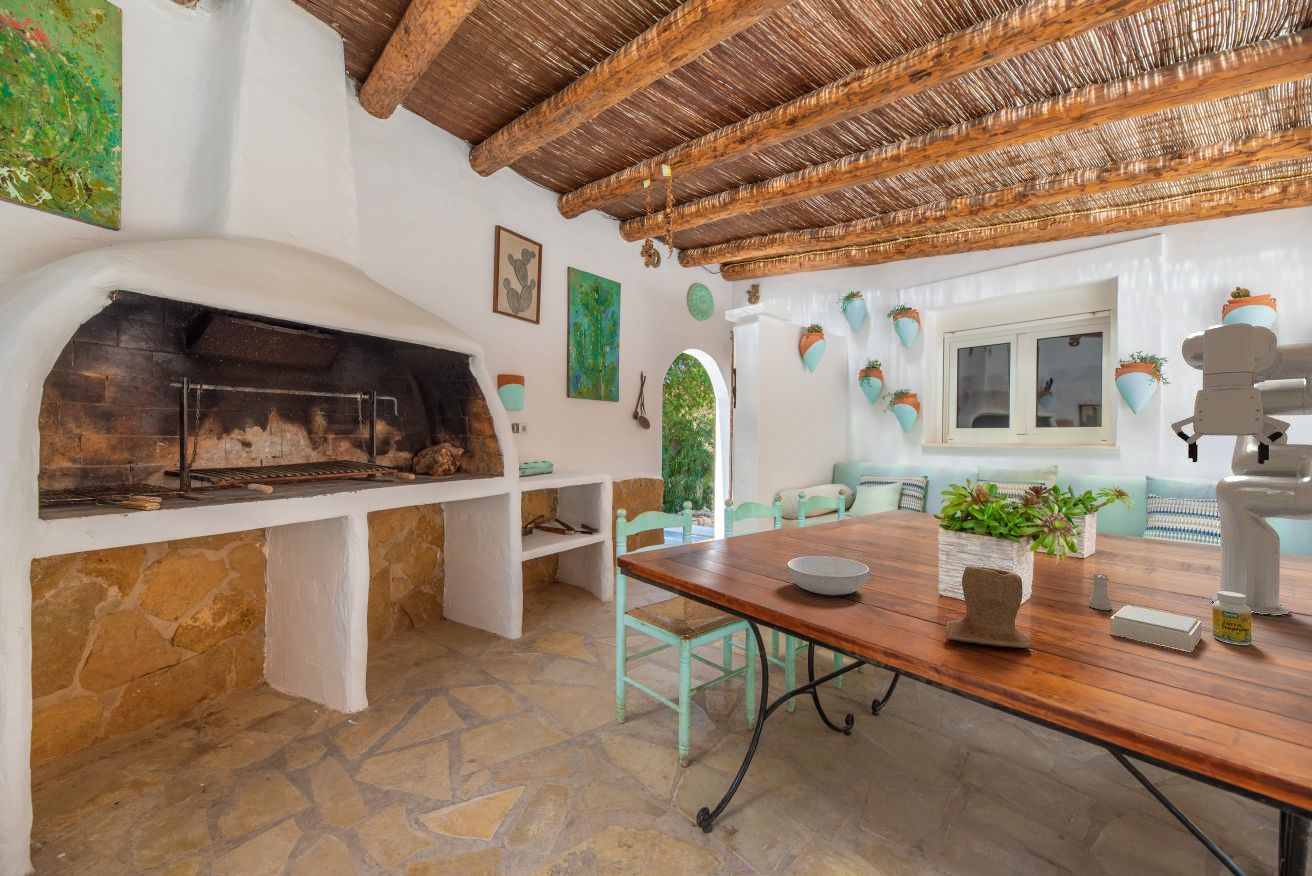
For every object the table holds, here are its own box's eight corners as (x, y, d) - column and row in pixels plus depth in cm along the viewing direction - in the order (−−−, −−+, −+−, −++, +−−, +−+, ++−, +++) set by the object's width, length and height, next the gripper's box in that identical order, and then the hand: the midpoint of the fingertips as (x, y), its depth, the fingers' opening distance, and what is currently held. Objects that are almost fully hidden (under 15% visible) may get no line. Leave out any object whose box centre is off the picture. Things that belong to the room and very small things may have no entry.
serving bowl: (771, 585, 148) (771, 560, 148) (829, 576, 157) (829, 553, 157) (824, 607, 129) (824, 579, 129) (887, 596, 138) (887, 569, 138)
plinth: (1124, 621, 119) (1124, 604, 118) (1201, 638, 109) (1201, 618, 109) (1110, 634, 111) (1110, 615, 111) (1191, 653, 102) (1191, 632, 102)
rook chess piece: (1088, 603, 131) (1088, 571, 131) (1112, 607, 128) (1112, 574, 128) (1088, 608, 128) (1088, 575, 128) (1112, 612, 125) (1112, 578, 125)
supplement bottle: (1244, 639, 109) (1244, 592, 109) (1256, 648, 104) (1257, 599, 104) (1207, 634, 111) (1208, 588, 111) (1218, 643, 107) (1219, 595, 107)
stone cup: (1018, 634, 111) (1018, 563, 111) (1037, 657, 100) (1038, 578, 100) (937, 626, 116) (937, 557, 116) (946, 646, 105) (947, 571, 105)
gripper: (1287, 381, 110) (1286, 464, 111) (1171, 386, 123) (1170, 461, 123) (1293, 378, 105) (1292, 465, 105) (1171, 384, 117) (1170, 462, 117)
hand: (1226, 462), depth 114 cm, fingers open, 9 cm apart
